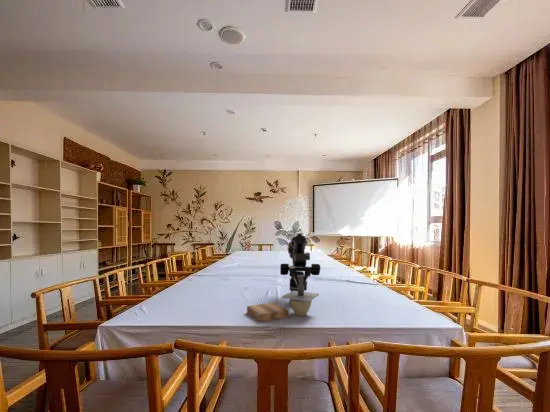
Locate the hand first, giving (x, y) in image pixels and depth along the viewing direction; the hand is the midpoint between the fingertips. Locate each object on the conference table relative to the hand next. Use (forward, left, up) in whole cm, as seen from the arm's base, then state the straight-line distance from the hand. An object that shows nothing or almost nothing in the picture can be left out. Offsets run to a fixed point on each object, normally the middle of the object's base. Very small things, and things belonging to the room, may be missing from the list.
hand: (301, 284), depth 131 cm
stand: (+13, -7, -13) cm, 20 cm away
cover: (-1, -1, -6) cm, 6 cm away
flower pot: (-1, -1, -14) cm, 14 cm away
